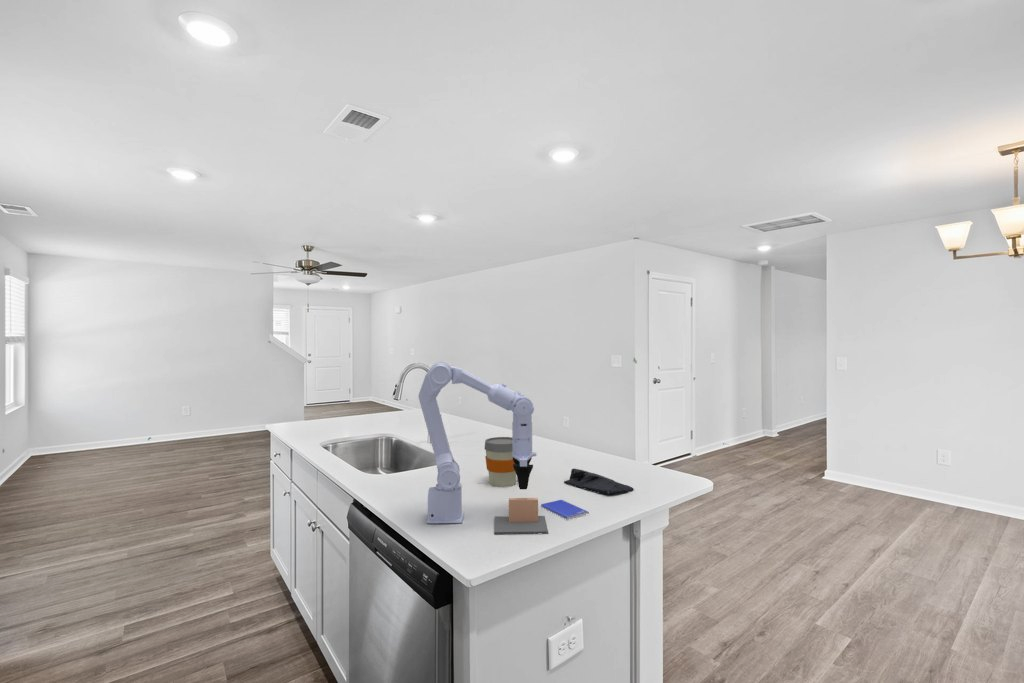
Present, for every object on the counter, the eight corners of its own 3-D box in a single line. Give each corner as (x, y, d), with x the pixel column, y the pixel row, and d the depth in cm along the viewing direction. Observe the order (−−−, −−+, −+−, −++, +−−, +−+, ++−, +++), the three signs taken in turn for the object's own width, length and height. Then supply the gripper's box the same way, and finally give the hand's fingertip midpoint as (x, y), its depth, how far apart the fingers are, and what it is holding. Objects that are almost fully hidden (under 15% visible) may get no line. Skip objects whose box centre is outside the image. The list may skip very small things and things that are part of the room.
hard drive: (589, 511, 136) (562, 499, 147) (566, 516, 132) (540, 503, 142) (589, 516, 136) (562, 504, 147) (566, 522, 132) (540, 509, 142)
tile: (508, 522, 129) (508, 500, 129) (508, 519, 131) (508, 498, 131) (538, 521, 129) (538, 499, 129) (537, 519, 131) (537, 497, 131)
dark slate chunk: (605, 500, 149) (605, 485, 149) (560, 483, 168) (560, 469, 168) (638, 491, 158) (638, 477, 158) (592, 476, 176) (592, 463, 176)
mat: (494, 534, 123) (494, 532, 123) (495, 518, 134) (494, 516, 134) (548, 533, 123) (548, 531, 123) (544, 517, 134) (544, 515, 134)
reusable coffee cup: (509, 490, 159) (508, 445, 158) (477, 485, 165) (477, 442, 165) (526, 480, 169) (526, 438, 169) (496, 476, 176) (496, 435, 176)
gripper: (537, 443, 129) (538, 493, 129) (534, 433, 144) (535, 477, 144) (512, 443, 129) (512, 493, 129) (511, 433, 144) (511, 478, 144)
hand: (522, 485), depth 137 cm, fingers open, 6 cm apart
